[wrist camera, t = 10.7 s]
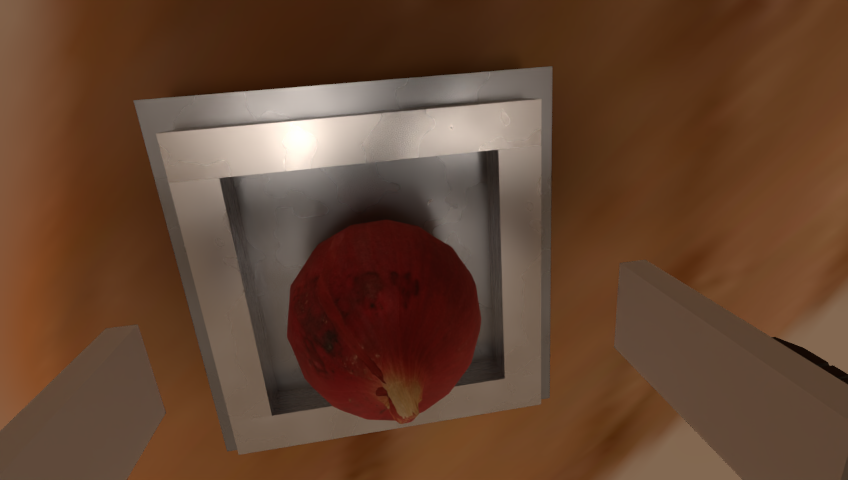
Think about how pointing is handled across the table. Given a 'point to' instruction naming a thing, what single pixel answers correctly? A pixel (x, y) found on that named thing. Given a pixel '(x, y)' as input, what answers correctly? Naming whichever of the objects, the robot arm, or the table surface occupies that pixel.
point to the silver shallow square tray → (347, 205)
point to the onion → (383, 320)
